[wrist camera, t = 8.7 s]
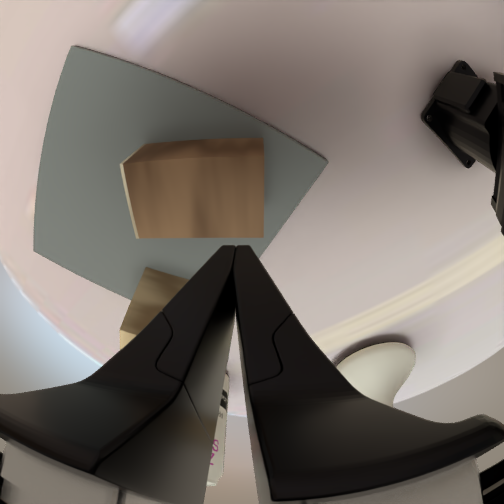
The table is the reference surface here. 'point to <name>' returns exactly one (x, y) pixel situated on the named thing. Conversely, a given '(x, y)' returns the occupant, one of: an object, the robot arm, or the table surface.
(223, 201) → the walnut block
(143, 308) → the oak block
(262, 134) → the slate mat
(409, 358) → the flower in vase
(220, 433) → the supplement can
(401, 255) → the table surface
